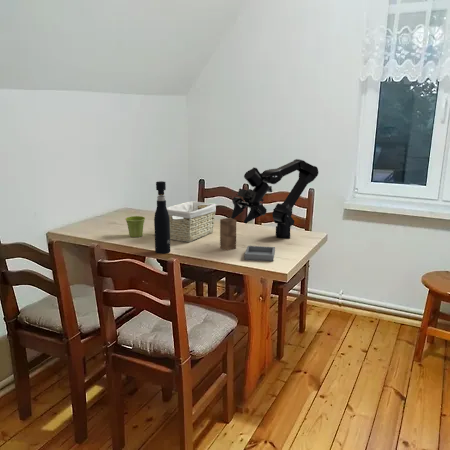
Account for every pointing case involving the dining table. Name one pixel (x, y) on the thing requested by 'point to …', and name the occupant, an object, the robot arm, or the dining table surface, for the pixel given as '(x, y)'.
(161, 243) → the black bottle
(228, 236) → the walnut block
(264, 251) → the tray
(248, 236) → the dining table surface
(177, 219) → the storage basket
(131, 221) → the plant pot
